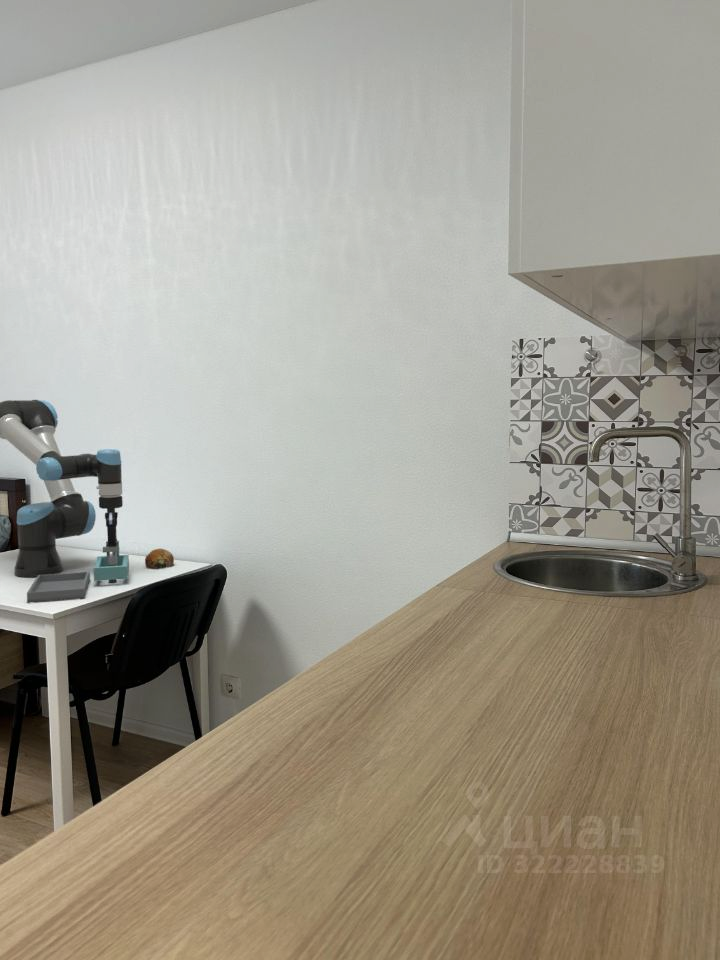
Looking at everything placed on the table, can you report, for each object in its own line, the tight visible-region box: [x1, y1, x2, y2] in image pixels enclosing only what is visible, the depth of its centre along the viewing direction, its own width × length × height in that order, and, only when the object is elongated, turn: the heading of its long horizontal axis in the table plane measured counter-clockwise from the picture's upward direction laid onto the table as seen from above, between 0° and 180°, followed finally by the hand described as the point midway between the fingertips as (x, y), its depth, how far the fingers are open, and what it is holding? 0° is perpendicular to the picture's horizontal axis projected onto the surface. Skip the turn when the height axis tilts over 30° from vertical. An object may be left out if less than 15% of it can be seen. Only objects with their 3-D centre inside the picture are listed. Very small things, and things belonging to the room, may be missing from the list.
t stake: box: [102, 545, 120, 584], centre depth 248 cm, size 2×5×12 cm, turn 105°
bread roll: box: [144, 548, 175, 570], centre depth 271 cm, size 10×10×8 cm
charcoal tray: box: [26, 571, 91, 603], centre depth 237 cm, size 24×16×3 cm, turn 15°
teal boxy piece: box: [93, 540, 130, 582], centre depth 252 cm, size 18×10×9 cm, turn 15°
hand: (113, 564), depth 260 cm, fingers closed on teal boxy piece, 1 cm apart
